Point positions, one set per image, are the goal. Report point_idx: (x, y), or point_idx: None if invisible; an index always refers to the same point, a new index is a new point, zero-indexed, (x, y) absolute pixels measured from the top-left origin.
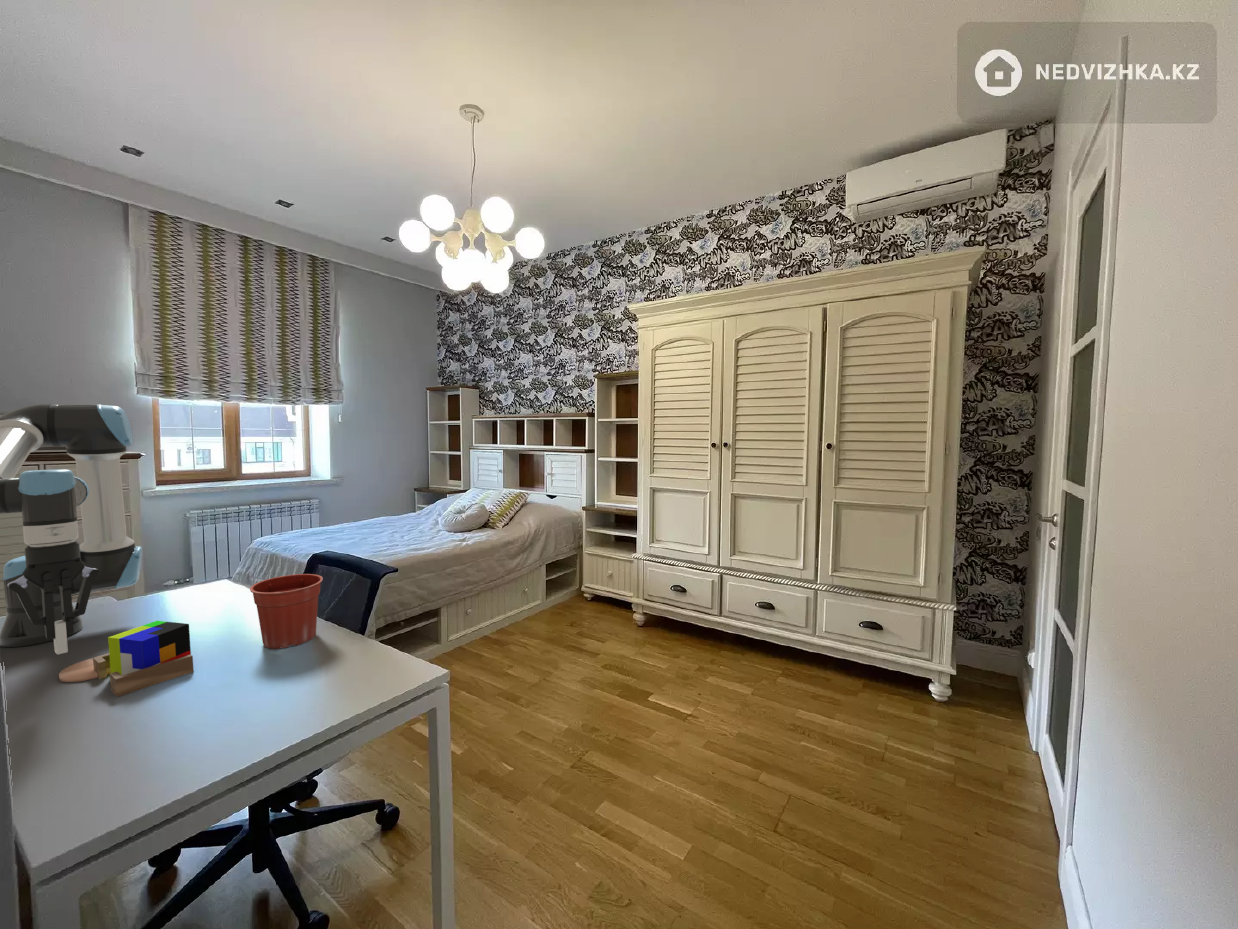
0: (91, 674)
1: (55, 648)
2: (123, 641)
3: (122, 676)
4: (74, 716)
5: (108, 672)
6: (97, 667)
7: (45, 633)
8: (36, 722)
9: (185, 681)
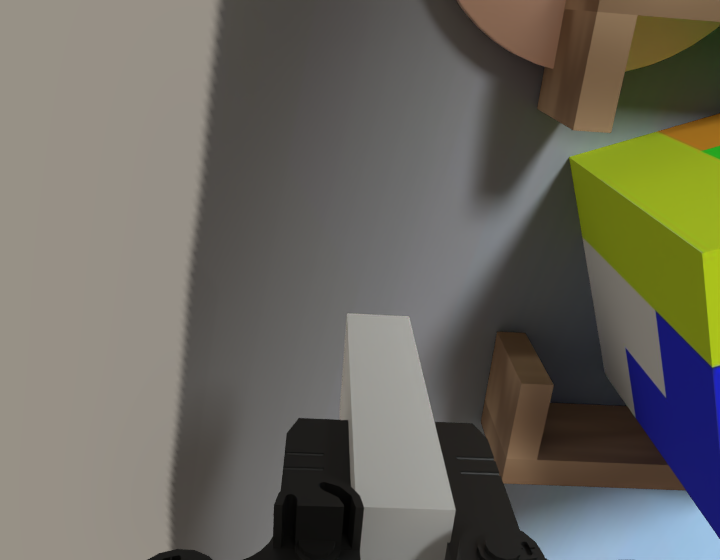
0: (532, 47)
1: (344, 380)
2: (705, 392)
3: (531, 476)
4: None
5: None
6: (565, 90)
7: (284, 467)
8: (229, 393)
9: (681, 497)
